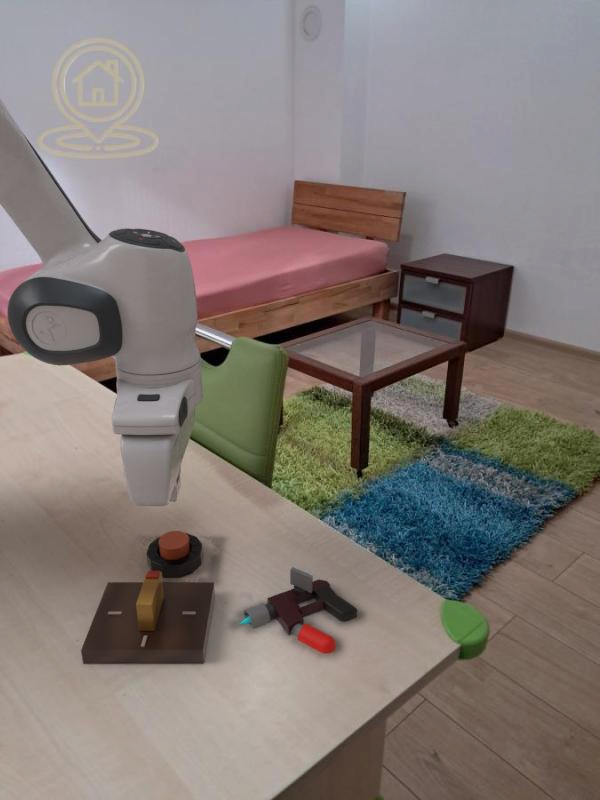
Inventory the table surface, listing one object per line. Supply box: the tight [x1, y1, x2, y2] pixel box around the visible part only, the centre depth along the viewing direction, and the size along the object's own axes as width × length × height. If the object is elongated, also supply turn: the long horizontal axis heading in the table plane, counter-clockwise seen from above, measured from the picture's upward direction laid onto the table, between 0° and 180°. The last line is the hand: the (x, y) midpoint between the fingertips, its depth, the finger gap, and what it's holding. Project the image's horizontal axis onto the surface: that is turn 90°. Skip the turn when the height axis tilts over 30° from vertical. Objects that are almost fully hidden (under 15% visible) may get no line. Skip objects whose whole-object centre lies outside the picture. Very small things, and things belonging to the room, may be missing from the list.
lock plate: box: [80, 581, 216, 665], centre depth 67 cm, size 12×10×3 cm
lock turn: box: [136, 570, 164, 631], centre depth 66 cm, size 5×2×4 cm, turn 0°
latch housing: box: [146, 532, 204, 579], centre depth 77 cm, size 10×8×3 cm
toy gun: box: [238, 566, 358, 655], centre depth 67 cm, size 10×12×5 cm
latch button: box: [159, 530, 190, 560], centre depth 77 cm, size 4×4×2 cm
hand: (171, 494), depth 73 cm, fingers closed
